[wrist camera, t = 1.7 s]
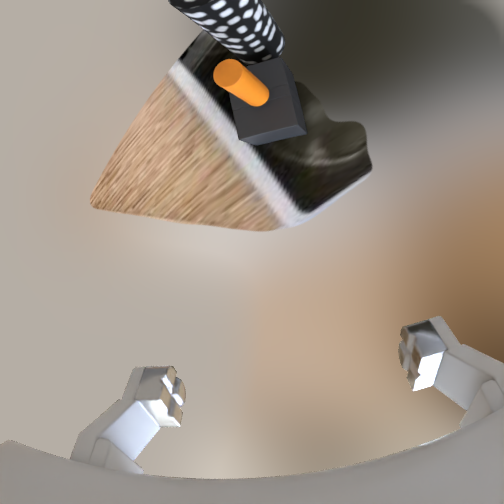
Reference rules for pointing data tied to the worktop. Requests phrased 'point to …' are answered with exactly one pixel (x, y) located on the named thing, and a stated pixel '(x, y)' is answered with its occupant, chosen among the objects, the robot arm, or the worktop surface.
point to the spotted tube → (237, 26)
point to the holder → (270, 106)
